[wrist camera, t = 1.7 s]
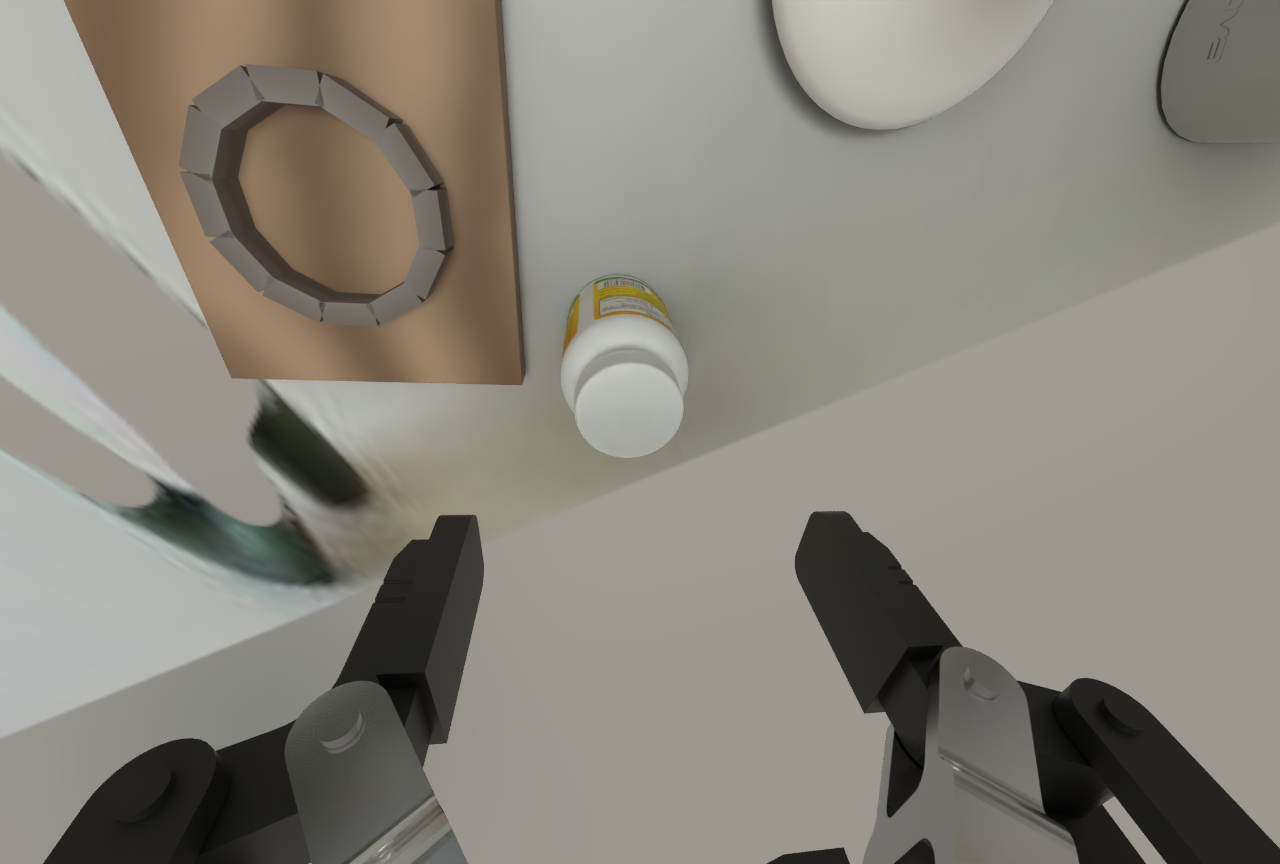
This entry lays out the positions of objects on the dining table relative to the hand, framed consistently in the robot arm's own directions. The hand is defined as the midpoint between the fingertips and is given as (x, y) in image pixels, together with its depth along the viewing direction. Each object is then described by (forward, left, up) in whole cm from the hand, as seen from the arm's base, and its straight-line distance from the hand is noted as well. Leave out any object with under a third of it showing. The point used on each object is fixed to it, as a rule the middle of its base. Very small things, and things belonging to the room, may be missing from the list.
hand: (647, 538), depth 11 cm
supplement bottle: (0, 0, -16) cm, 16 cm away
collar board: (+12, -5, -16) cm, 20 cm away
